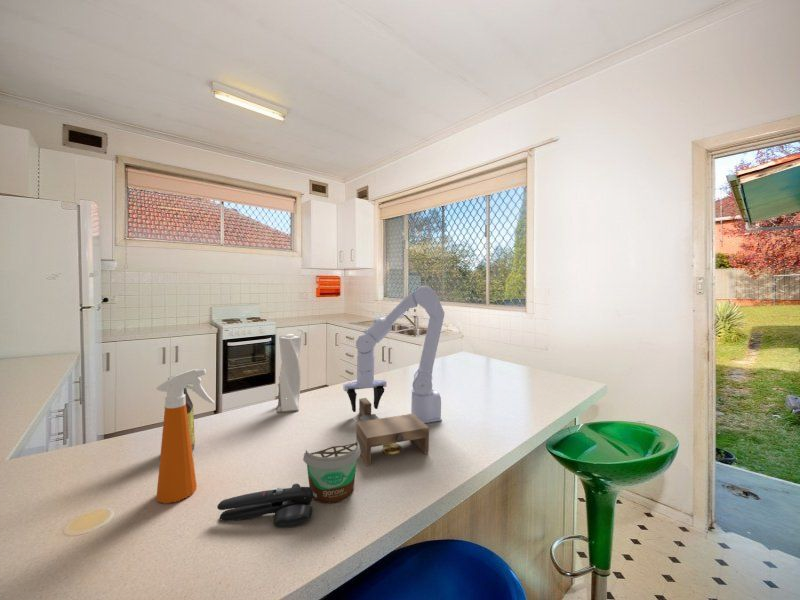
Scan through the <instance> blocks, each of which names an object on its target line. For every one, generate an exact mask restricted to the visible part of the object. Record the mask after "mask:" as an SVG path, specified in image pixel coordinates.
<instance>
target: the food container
mask: <svg viewBox="0 0 800 600" xmlns="http://www.w3.org/2000/svg"><path fill="white" fill-rule="evenodd" d="M360 453H361V451H360V446H359V443H358V440H357V439H355V443H350V444H346V445H336V446H331V447H328V448H325V449H322V450H319V451H315V452H309V451H308V450H307V449H305V452H304V454H303V459H302V460H303V462H304V463H305V464H306V467H307V468H306V469H307V479H308V487H310V488H311V489H312V491H313V499H312V500H314V501H315V502H318V503H321V504H329V505H331V504H338V503H340V502H343V501H345V500H347V499H348V498H349V497H350V496H351V495H352V494H353V492H354V490H355V478H356V471H357V462H358V459H359V458H360V456H361V455H360Z"/></svg>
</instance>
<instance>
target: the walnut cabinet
mask: <svg viewBox="0 0 800 600" xmlns="http://www.w3.org/2000/svg"><path fill="white" fill-rule="evenodd" d="M355 423H356V427H355V428H356V431H355V433H356V437H355V438H356V439H357V440H358V443H359V446H360V451H361V453H360V456H361V459H362V460H363V462H364V463H365V465H366V467H368V466H371V465H372V448H375V447H380V446H383V445H387V444H392V443H397V444H399V443H403V442H408V441H412V442H413V443H414V444H415V445H416V446H417V447H418V448H419V449H420V450H421V451H422V452H423V453H424V455H426V454H429V452H430V451H429V448H430V445H429V443H430V427H429V426H428V425H427V423H423V422H422V421H421V420H420V419H419V418H418V417H416V416H415V415H414V414H411V413H407V414H402V415H396V416H395V415H393V416H387V417H382V418H379V419H374V420H367V421H361V420H360V421H357V422H355ZM356 439H355V440H356Z"/></svg>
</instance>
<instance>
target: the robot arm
mask: <svg viewBox="0 0 800 600" xmlns="http://www.w3.org/2000/svg"><path fill="white" fill-rule="evenodd" d="M418 306H420V307H422V308H423V309H424V310H425V312H426V313H427V315H428V316H429V319H428V324H427V328H426V333H425V337H424V342H423V347H422V352H421V357H420V361H419V365H418V369H417V370H416V371H415V373H414V374H413V381H412V390H411V409H410V411H411V413H410V414H414V415H415V416H416V417H418V418H419V419H420V420H421V421H422V422H423V423H424V424H428V423H434V422H439V421H440V422H441V421H443V418H442V397H441V394H440V393H439V392H438V390H434V389H433V368H434V364H435V360H436V359H435V358H436V357H437V356H436V354H437V350H438V347H439V342H440V337H441V331H442V327H443V323H444V320H445V319H444V317H445V311H444V308H443V306H442V303H441V301H440V299H439V296H438V294H437V292H435V290H433V288H431V287H430V286H428V285H422V286H420V287H418V288H417V289H416V290H415V291H413V292H411V293H409V295H407V296H405V297H404V299H402V300H401V301H400V302H399V304H397V305H396V306H395V308H393V310H392V311H391V312H389V314H387V315H386V317H379V318H375V319H374V320H372V321H373V324H371V326H369V327H368V328H367V329H365V330H363V334H361V335H359V336H358V338H357V339H356V342H355V347H356V349H357V356H356V381H353V382H348V383H343V384H342V385H343V391H344V392H346V393H347V396H348V399H349V400H350V405H351V411H352V412H353V413H356V411H357V406H356V405H357V403H356V402H357V395H358V394H357V393H356V390H363V389H373V408H374V409H375V410H378V408H379V403H380V401H381V399H382V396H383V395H384V393H385V388H386V387H387V381H386V380H385V379H375V355H374V354H375V347H376V345H377V344H378V343H380V342H381V341H382V340H383V339H384V338H385V337H387V335H389V333H390V332H391V331H392V330H393V329H392V328H393V324H394V323H395V322H396V321H397V320H398V319H399V318H401V316H403V315H404V314H405V313H407V311H408V310H410V309H412V308H413V309H414V308H417V307H418Z"/></svg>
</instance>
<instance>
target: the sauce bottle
mask: <svg viewBox="0 0 800 600" xmlns="http://www.w3.org/2000/svg"><path fill="white" fill-rule="evenodd" d="M174 376H175V375H172V376H170V377H168V378H167V380H168V379H170V378H172V377H174ZM187 389H188V388H185V389H184V394H185V398H186V409H187V416H188V424H189V431H190V439H191V446H192V451H193V450H194V449H195V442H196V441H195V439H196V437H195V422H194V421H195V418H194V404H193V402H192V399H191V398H190V396H189V393H188V390H187Z"/></svg>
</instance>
